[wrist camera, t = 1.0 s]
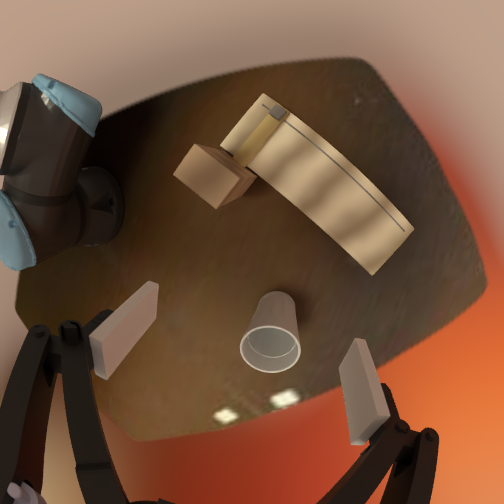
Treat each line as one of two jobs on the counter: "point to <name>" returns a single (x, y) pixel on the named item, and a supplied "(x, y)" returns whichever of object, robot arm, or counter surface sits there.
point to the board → (323, 186)
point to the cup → (272, 334)
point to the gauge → (227, 164)
